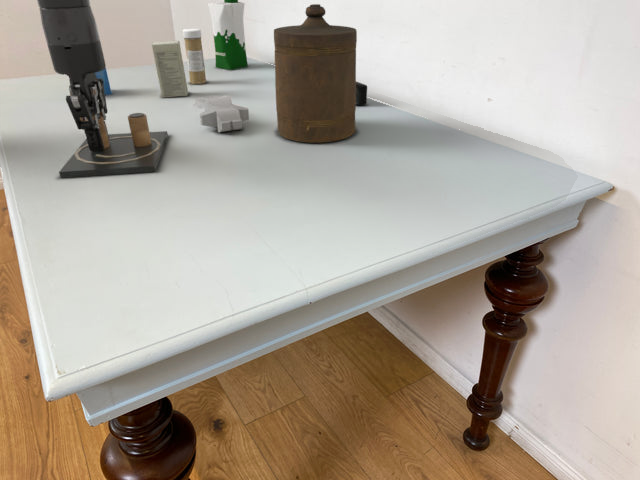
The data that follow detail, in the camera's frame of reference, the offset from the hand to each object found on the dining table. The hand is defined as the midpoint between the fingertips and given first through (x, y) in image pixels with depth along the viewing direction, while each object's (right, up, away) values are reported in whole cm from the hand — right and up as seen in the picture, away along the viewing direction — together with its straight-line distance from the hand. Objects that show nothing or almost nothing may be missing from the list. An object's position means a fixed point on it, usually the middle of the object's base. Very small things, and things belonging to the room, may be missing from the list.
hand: (100, 146), depth 82 cm
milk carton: (+10, +38, +67) cm, 77 cm away
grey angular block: (+18, +7, +14) cm, 24 cm away
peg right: (+7, +1, +1) cm, 7 cm away
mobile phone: (+43, +17, +31) cm, 56 cm away
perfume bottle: (-19, +20, +38) cm, 46 cm away
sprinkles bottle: (+5, +26, +48) cm, 55 cm away
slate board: (+4, -2, -1) cm, 4 cm away
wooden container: (+37, +5, +10) cm, 39 cm away
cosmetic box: (+2, +19, +36) cm, 41 cm away
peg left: (0, 0, 0) cm, 0 cm away
